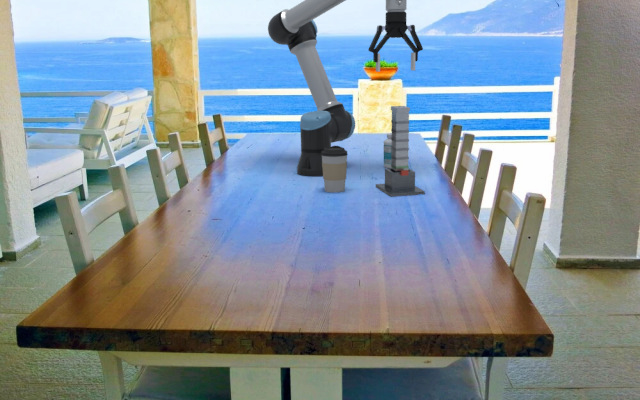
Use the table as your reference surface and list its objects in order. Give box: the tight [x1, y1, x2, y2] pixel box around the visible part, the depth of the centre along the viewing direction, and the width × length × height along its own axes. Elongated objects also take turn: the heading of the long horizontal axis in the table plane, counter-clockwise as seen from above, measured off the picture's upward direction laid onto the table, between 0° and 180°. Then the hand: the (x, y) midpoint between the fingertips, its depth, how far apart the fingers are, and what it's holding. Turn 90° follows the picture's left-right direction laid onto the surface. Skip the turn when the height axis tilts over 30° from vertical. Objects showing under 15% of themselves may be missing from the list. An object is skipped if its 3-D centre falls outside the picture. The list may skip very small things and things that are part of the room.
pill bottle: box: [383, 132, 392, 169], centre depth 275 cm, size 8×7×14 cm
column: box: [390, 105, 411, 171], centre depth 230 cm, size 4×6×21 cm
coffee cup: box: [321, 145, 348, 193], centre depth 235 cm, size 9×9×15 cm
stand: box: [375, 168, 426, 197], centre depth 233 cm, size 12×16×8 cm
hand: (395, 71), depth 254 cm, fingers open, 13 cm apart
